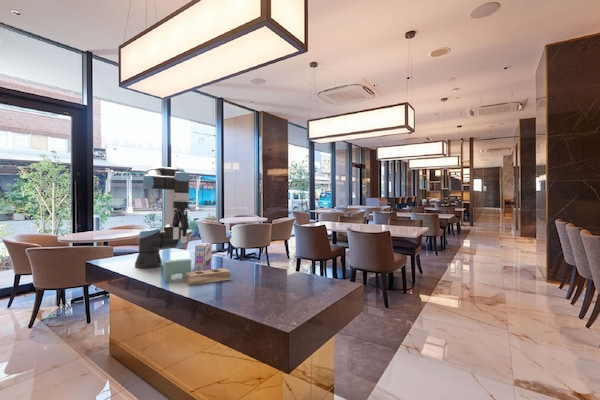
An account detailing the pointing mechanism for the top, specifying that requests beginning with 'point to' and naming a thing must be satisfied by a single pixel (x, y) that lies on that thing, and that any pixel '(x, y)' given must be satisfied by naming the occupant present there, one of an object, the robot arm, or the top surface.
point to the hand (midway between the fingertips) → (179, 240)
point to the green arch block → (176, 268)
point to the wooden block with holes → (207, 276)
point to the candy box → (203, 256)
